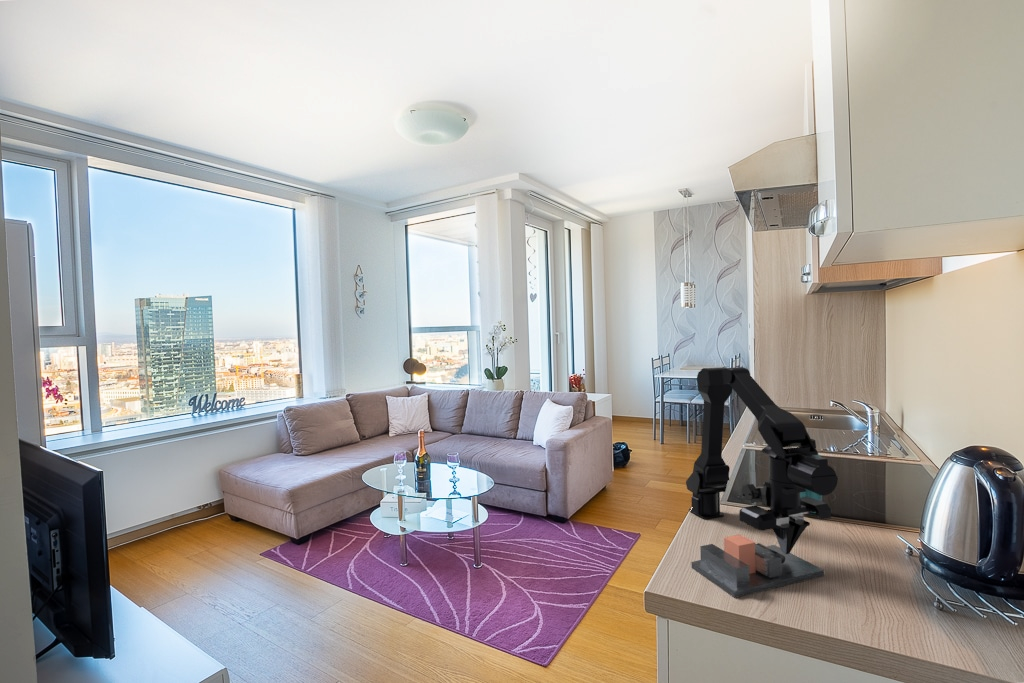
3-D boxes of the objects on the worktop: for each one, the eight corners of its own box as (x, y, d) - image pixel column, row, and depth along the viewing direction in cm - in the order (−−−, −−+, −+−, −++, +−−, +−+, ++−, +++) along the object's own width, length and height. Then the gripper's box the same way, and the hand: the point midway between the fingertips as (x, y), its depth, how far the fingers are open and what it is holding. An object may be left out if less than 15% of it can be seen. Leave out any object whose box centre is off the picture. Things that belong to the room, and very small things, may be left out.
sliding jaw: (754, 550, 104) (753, 534, 103) (794, 572, 94) (793, 554, 94) (729, 555, 102) (729, 539, 102) (767, 578, 92) (767, 560, 92)
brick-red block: (740, 563, 99) (739, 534, 99) (755, 572, 95) (755, 542, 95) (724, 566, 98) (723, 537, 97) (739, 576, 94) (738, 545, 94)
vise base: (774, 550, 107) (773, 529, 106) (824, 576, 95) (823, 552, 95) (691, 567, 100) (691, 545, 100) (734, 597, 88) (734, 572, 88)
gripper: (787, 464, 110) (788, 531, 110) (720, 473, 104) (721, 544, 105) (832, 478, 99) (833, 552, 100) (760, 489, 94) (761, 567, 94)
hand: (785, 553), depth 100 cm, fingers closed
